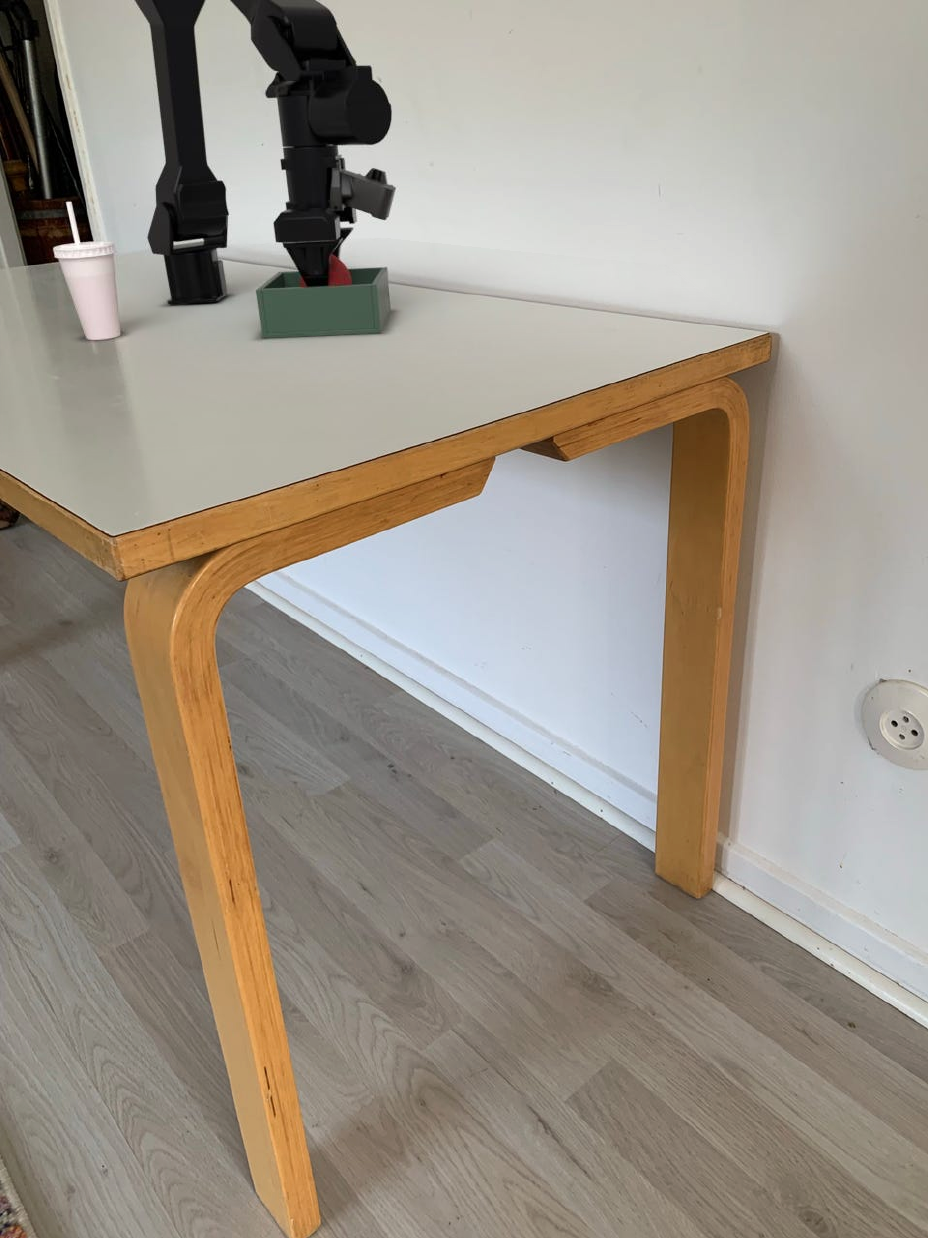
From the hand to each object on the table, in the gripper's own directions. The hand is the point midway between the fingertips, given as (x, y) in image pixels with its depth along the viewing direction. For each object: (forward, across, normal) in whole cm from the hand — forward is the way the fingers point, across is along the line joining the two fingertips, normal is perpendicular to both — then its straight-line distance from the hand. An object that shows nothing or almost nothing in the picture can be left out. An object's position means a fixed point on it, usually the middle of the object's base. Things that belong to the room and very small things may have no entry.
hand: (326, 301), depth 107 cm
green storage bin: (+2, 0, 0) cm, 3 cm away
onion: (+2, 0, 0) cm, 2 cm away
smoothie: (+3, -2, +25) cm, 26 cm away
